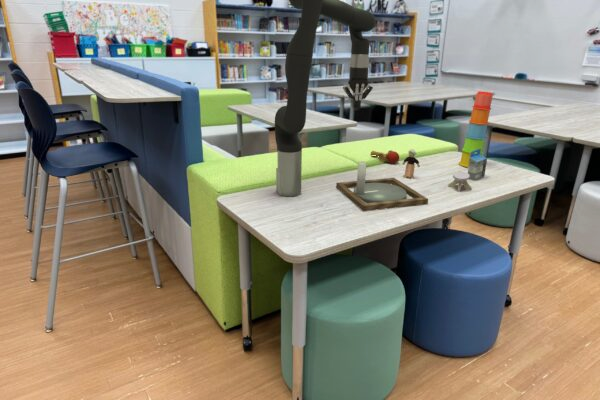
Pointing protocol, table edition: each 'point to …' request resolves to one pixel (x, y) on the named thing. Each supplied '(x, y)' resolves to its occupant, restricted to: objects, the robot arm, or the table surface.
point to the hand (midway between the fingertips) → (356, 109)
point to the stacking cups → (477, 126)
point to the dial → (376, 189)
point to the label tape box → (476, 165)
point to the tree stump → (460, 180)
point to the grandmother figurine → (410, 164)
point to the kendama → (387, 156)
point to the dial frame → (416, 200)
